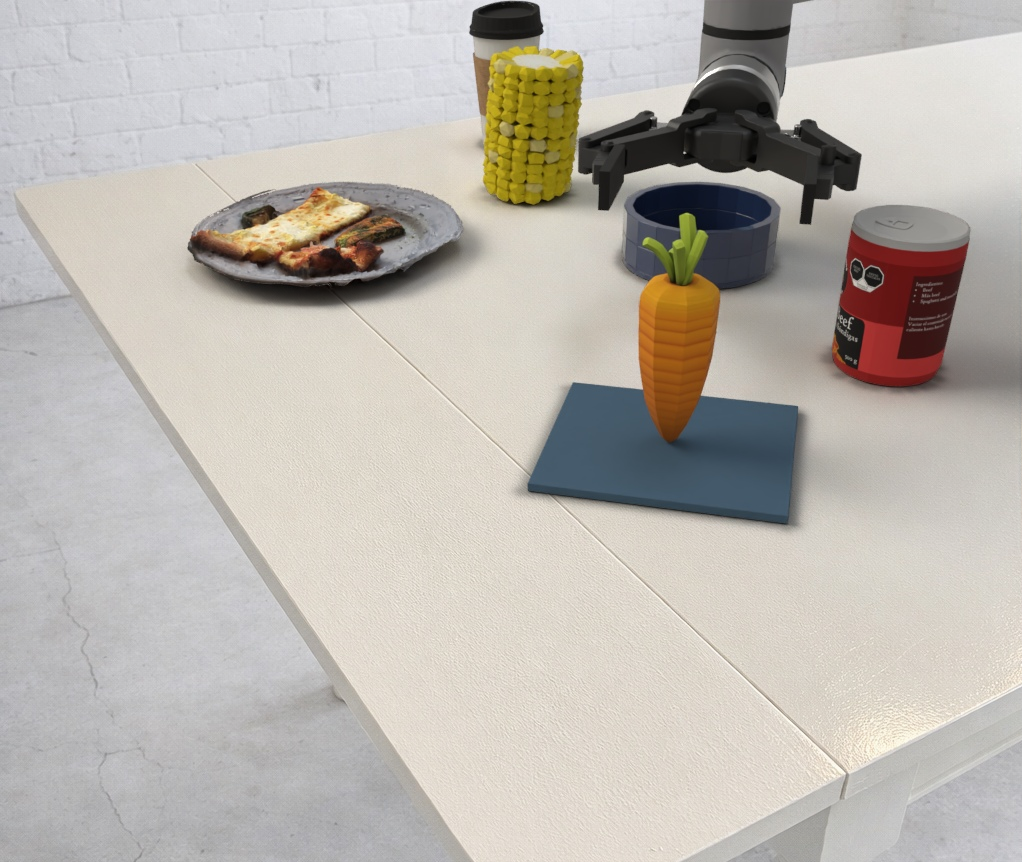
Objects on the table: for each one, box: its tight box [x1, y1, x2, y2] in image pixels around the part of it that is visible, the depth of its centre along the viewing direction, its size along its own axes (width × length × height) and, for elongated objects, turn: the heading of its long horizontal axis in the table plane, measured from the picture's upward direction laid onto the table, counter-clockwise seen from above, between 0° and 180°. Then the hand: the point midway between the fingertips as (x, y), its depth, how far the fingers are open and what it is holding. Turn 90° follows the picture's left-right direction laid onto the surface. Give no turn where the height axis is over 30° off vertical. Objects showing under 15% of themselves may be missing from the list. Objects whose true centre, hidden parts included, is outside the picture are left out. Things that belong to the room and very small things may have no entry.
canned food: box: [831, 204, 971, 387], centre depth 81 cm, size 8×8×11 cm
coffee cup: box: [468, 0, 545, 147], centre depth 129 cm, size 8×8×15 cm
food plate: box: [186, 181, 464, 291], centre depth 104 cm, size 25×23×4 cm
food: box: [482, 46, 585, 206], centre depth 114 cm, size 15×12×10 cm
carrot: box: [637, 213, 721, 443], centre depth 70 cm, size 5×5×15 cm
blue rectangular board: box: [527, 381, 799, 525], centre depth 74 cm, size 16×14×1 cm
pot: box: [621, 181, 782, 290], centre depth 101 cm, size 14×14×5 cm
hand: (703, 197), depth 75 cm, fingers open, 13 cm apart
